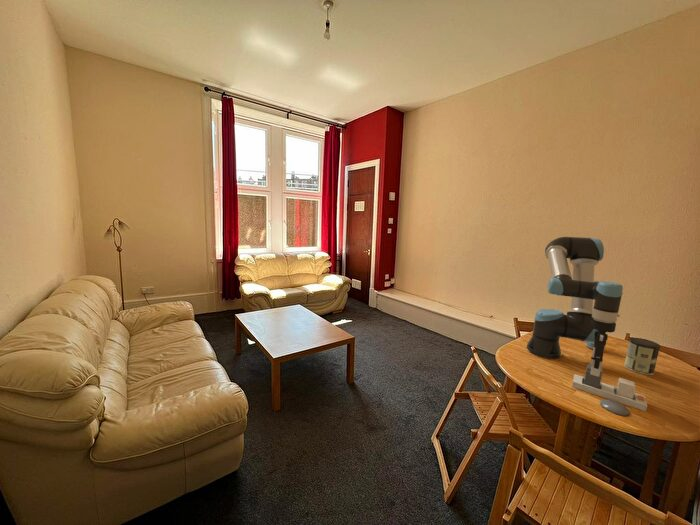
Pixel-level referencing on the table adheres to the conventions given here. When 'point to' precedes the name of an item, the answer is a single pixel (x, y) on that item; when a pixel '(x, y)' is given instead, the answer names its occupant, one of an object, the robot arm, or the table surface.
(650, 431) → the table surface
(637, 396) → the strip
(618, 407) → the grey disc
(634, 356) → the coffee can
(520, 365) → the table surface
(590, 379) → the block
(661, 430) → the table surface
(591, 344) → the beverage can
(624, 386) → the white plug
